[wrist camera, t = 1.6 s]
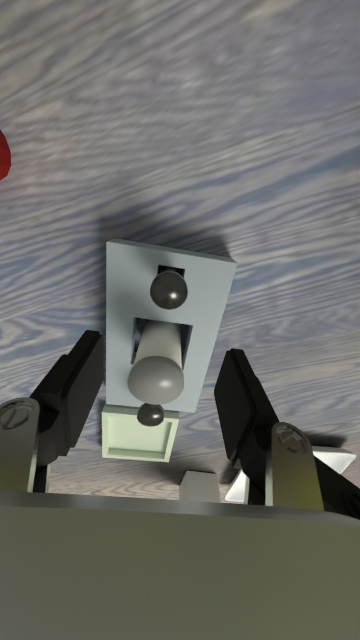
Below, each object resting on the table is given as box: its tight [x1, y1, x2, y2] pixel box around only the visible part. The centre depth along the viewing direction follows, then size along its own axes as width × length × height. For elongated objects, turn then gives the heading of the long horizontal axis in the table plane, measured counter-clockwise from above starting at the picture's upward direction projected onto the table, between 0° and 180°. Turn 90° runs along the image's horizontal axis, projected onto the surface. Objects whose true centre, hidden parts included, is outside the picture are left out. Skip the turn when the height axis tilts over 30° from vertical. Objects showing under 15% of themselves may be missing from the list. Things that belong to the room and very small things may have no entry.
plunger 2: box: [150, 267, 188, 310], centre depth 23 cm, size 4×4×6 cm
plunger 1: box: [137, 403, 164, 427], centre depth 31 cm, size 4×4×6 cm
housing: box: [106, 238, 238, 413], centre depth 29 cm, size 14×24×3 cm, turn 171°
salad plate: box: [225, 446, 356, 502], centre depth 46 cm, size 21×21×3 cm
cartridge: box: [127, 320, 184, 405], centre depth 26 cm, size 6×6×10 cm
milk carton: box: [179, 471, 221, 503], centre depth 41 cm, size 7×7×19 cm
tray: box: [102, 403, 179, 462], centre depth 40 cm, size 13×13×2 cm
